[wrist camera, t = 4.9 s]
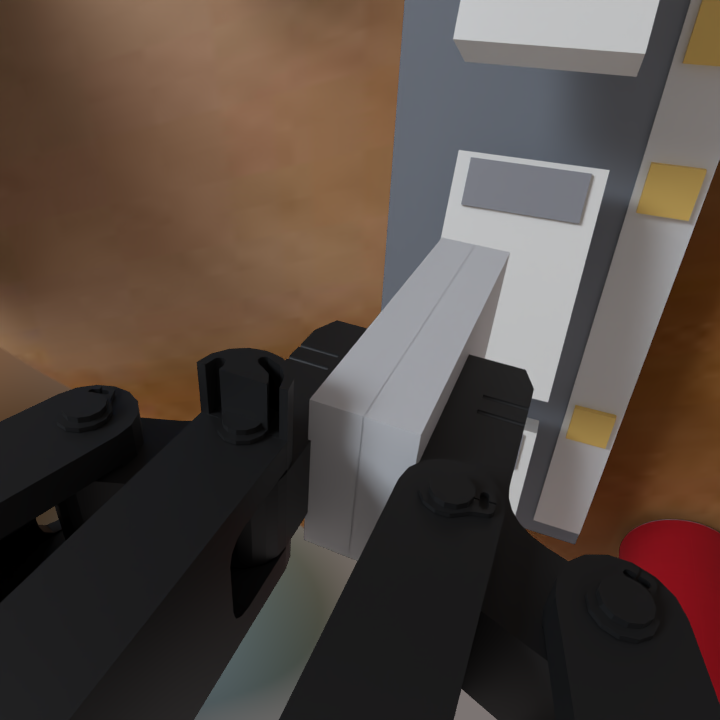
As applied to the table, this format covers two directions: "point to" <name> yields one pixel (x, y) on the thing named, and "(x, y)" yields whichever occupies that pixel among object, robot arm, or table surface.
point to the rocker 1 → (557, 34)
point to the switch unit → (614, 221)
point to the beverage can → (684, 576)
